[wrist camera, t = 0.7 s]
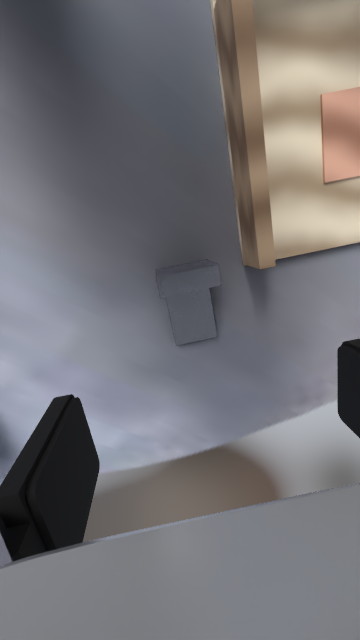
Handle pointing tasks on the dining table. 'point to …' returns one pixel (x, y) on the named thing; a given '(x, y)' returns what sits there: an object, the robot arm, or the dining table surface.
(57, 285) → the dining table surface
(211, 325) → the gray t-shaped block
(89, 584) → the robot arm
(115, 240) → the dining table surface
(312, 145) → the corner arena
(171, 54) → the dining table surface
